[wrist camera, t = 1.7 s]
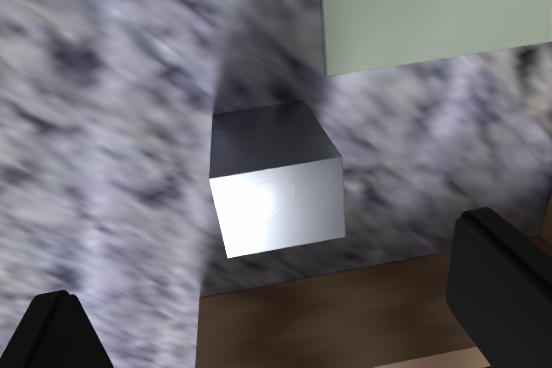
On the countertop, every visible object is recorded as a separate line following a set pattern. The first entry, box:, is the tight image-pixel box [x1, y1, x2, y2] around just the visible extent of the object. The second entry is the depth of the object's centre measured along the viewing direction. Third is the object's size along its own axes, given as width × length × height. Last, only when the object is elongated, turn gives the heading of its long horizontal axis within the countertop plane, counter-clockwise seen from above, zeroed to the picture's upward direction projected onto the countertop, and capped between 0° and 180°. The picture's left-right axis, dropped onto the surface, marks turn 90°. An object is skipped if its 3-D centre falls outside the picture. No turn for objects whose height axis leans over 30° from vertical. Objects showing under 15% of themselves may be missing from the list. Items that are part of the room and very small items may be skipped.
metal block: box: [209, 101, 345, 258], centre depth 15 cm, size 4×6×6 cm, turn 7°
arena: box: [195, 192, 552, 368], centre depth 14 cm, size 22×23×6 cm
